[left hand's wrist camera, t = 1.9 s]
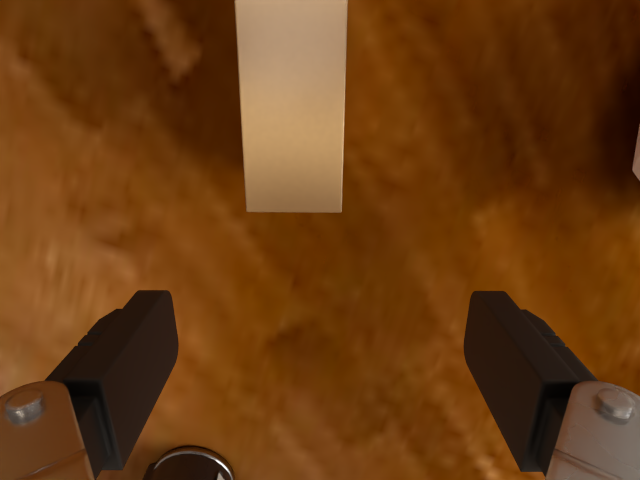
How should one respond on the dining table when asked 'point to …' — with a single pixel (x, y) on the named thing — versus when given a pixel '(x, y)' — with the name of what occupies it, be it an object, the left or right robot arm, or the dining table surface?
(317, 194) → the box
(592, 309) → the dining table surface
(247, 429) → the dining table surface
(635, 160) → the sphere
